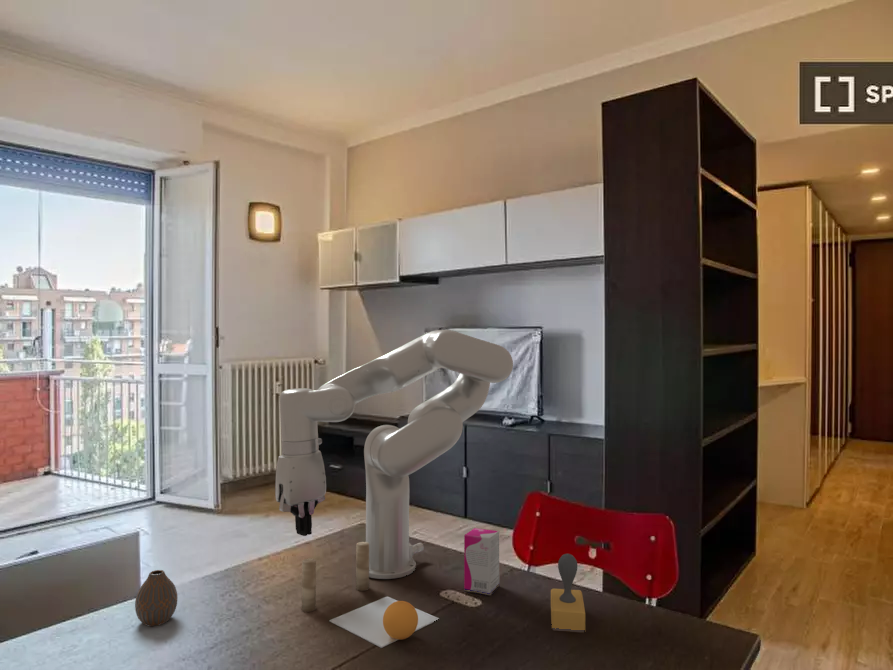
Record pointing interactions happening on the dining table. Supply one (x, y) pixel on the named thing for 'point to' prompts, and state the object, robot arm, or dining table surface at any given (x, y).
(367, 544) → the post
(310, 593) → the post
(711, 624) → the dining table surface
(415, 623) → the ball
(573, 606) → the rubber stamp
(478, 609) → the dining table surface
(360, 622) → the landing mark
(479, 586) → the supplement box
